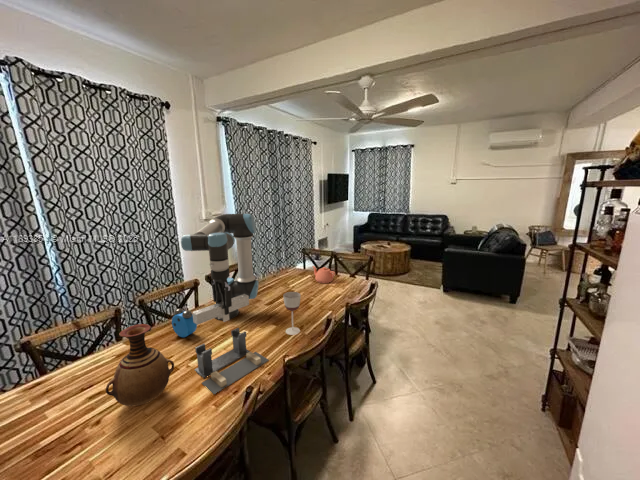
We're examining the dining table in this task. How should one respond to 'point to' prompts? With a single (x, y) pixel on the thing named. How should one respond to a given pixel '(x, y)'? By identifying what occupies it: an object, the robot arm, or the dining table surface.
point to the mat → (234, 373)
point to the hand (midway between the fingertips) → (223, 319)
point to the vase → (139, 370)
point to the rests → (222, 381)
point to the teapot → (323, 275)
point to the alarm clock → (183, 323)
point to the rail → (219, 309)
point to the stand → (210, 366)
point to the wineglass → (292, 308)
